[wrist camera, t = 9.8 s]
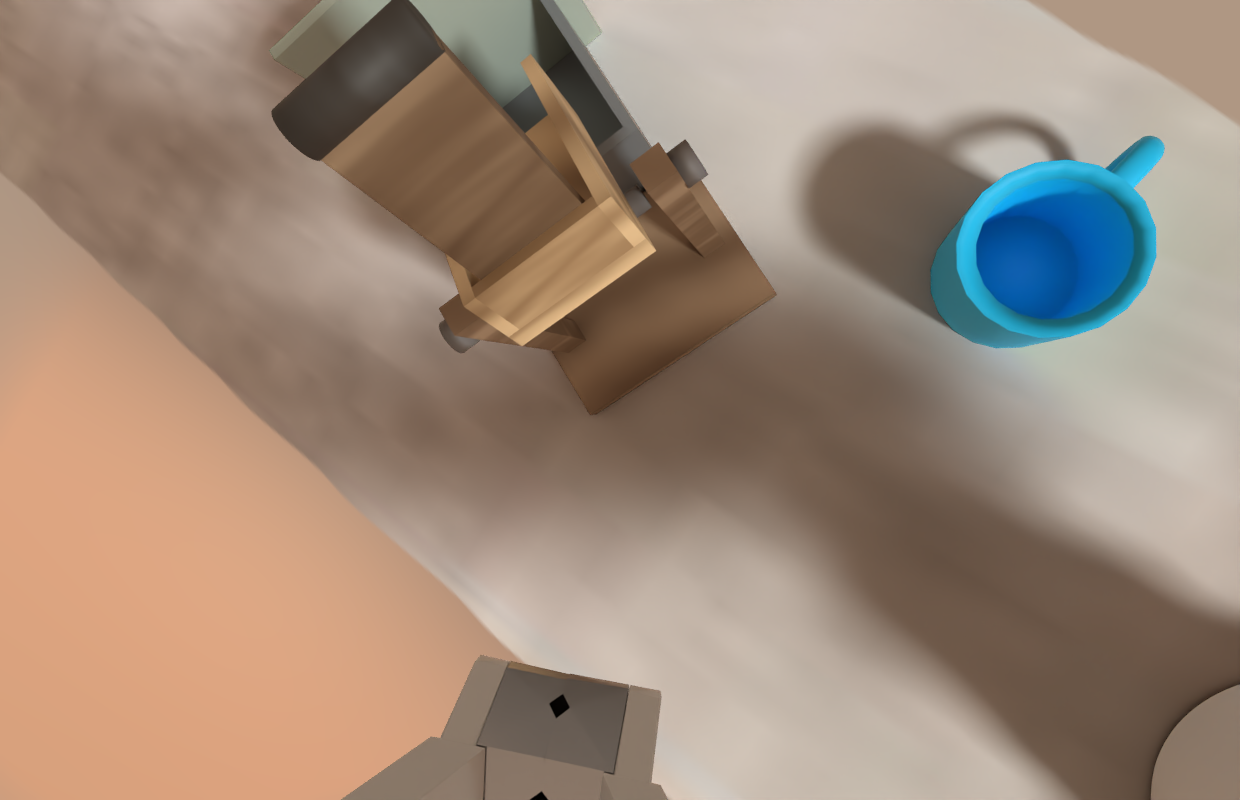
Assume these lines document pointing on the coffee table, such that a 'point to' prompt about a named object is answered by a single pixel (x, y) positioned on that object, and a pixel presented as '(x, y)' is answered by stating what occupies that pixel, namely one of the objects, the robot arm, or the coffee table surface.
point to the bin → (498, 60)
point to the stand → (646, 291)
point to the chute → (470, 171)
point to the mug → (1049, 251)
